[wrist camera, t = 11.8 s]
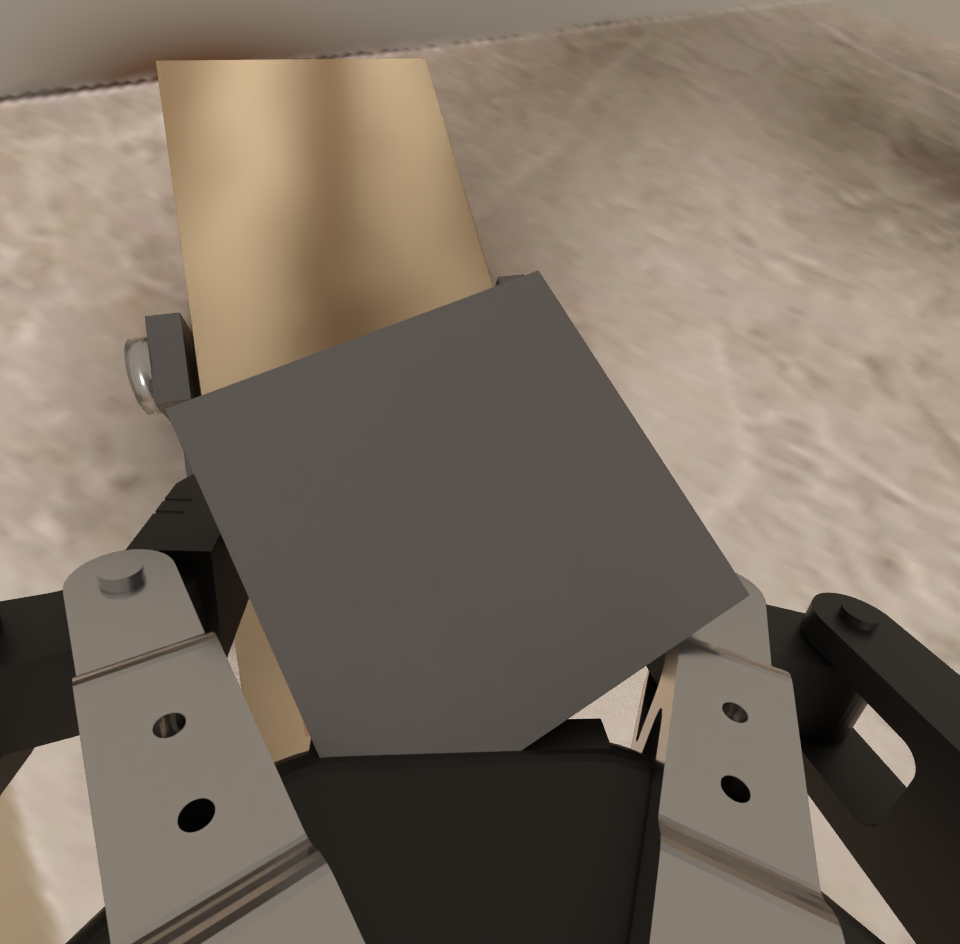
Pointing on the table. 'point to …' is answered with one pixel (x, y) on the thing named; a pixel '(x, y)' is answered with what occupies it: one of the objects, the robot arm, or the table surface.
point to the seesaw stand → (171, 364)
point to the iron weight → (452, 528)
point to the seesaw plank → (308, 237)
